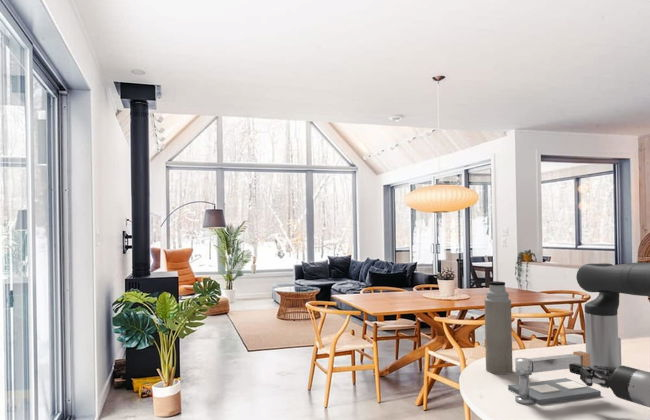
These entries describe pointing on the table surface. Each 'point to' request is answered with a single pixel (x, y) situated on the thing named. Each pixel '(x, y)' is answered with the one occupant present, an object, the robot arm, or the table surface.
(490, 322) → the thermos bottle
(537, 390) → the label tray
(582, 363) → the swing arm
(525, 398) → the post
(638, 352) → the table surface
